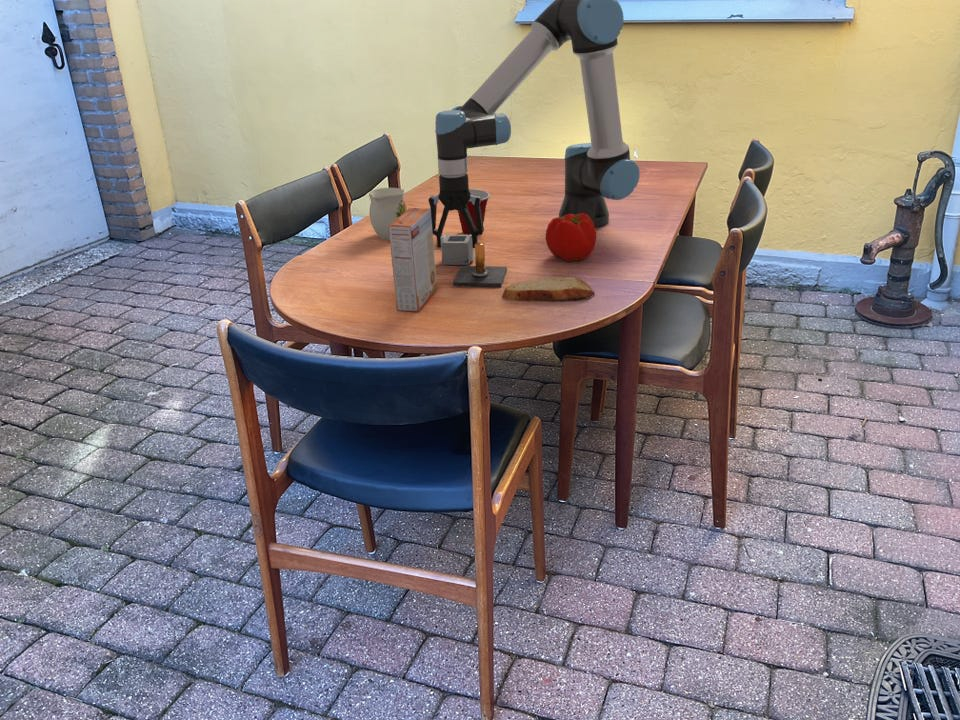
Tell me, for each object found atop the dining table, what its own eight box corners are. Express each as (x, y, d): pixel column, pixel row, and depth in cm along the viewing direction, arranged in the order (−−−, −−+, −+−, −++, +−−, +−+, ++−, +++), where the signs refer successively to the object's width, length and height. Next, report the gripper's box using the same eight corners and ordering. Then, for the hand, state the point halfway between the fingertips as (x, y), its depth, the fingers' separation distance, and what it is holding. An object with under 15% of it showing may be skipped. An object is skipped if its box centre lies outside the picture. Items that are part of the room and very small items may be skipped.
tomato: (567, 269, 209) (568, 225, 203) (535, 255, 220) (535, 213, 214) (607, 259, 215) (609, 216, 210) (574, 245, 226) (575, 204, 220)
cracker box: (414, 289, 200) (408, 206, 191) (438, 291, 199) (432, 207, 189) (394, 311, 188) (386, 224, 179) (419, 313, 187) (412, 225, 177)
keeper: (507, 270, 210) (506, 236, 206) (501, 287, 199) (500, 252, 195) (461, 269, 212) (459, 236, 208) (453, 286, 201) (451, 251, 197)
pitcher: (419, 226, 246) (416, 182, 240) (397, 245, 231) (393, 198, 225) (386, 225, 250) (382, 180, 243) (362, 243, 234) (357, 196, 228)
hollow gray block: (473, 256, 220) (472, 234, 217) (468, 264, 214) (467, 243, 211) (447, 255, 221) (446, 234, 218) (443, 264, 215) (441, 242, 212)
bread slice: (495, 297, 195) (495, 282, 193) (546, 276, 206) (546, 263, 204) (551, 317, 183) (551, 301, 181) (601, 294, 194) (602, 279, 192)
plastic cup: (479, 240, 233) (478, 199, 227) (447, 235, 238) (445, 195, 232) (497, 229, 241) (496, 190, 236) (466, 225, 246) (464, 186, 241)
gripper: (493, 170, 208) (496, 254, 219) (418, 170, 212) (425, 254, 222) (489, 177, 202) (492, 264, 212) (412, 177, 205) (419, 263, 215)
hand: (458, 259), depth 217 cm, fingers closed on hollow gray block, 7 cm apart
